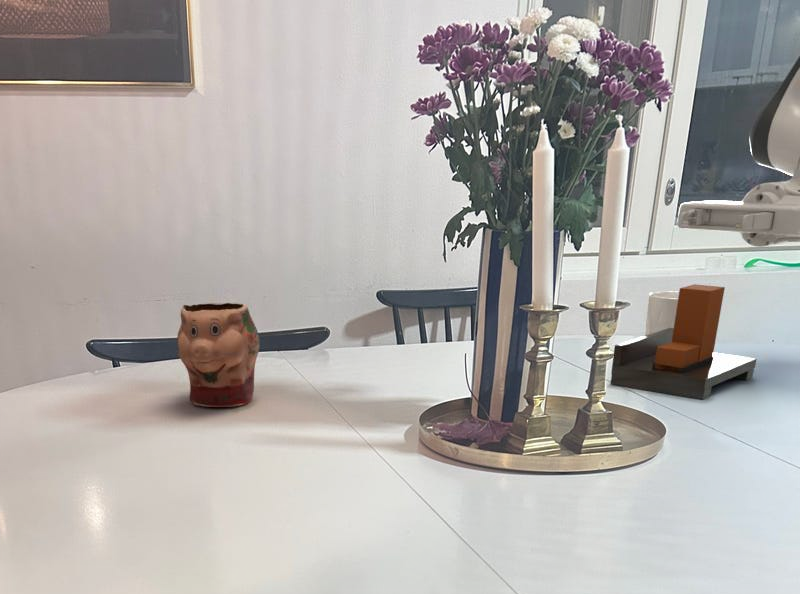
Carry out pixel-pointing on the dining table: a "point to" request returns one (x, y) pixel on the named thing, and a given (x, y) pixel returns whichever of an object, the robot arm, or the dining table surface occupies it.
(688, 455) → the dining table surface
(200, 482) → the dining table surface
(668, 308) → the white cup
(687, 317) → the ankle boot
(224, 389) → the decorative planter
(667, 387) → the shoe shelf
